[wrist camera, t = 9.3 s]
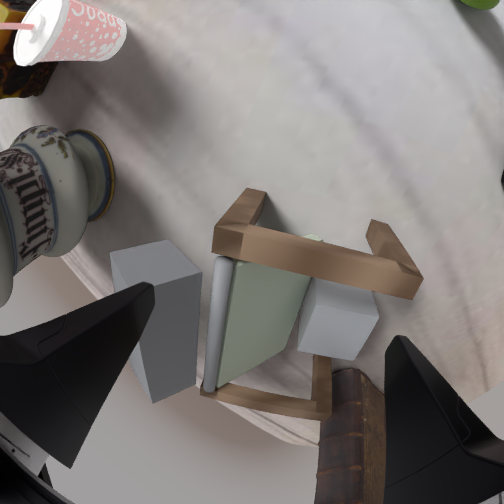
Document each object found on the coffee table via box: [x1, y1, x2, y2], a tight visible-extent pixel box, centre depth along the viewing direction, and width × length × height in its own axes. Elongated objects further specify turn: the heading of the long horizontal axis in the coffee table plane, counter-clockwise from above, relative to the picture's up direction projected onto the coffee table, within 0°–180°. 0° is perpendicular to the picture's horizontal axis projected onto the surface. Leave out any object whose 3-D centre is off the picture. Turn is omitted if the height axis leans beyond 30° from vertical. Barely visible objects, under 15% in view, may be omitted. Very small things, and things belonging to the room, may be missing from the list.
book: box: [314, 368, 386, 504], centre depth 19 cm, size 17×7×25 cm, turn 37°
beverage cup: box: [0, 0, 127, 66], centre depth 9 cm, size 6×6×14 cm
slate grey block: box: [297, 277, 379, 361], centre depth 21 cm, size 5×5×5 cm
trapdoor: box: [110, 234, 323, 403], centre depth 19 cm, size 14×12×5 cm
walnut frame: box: [200, 188, 424, 421], centre depth 20 cm, size 12×16×8 cm
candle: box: [0, 0, 58, 99], centre depth 11 cm, size 10×10×10 cm
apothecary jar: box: [0, 125, 115, 307], centre depth 15 cm, size 12×12×18 cm
